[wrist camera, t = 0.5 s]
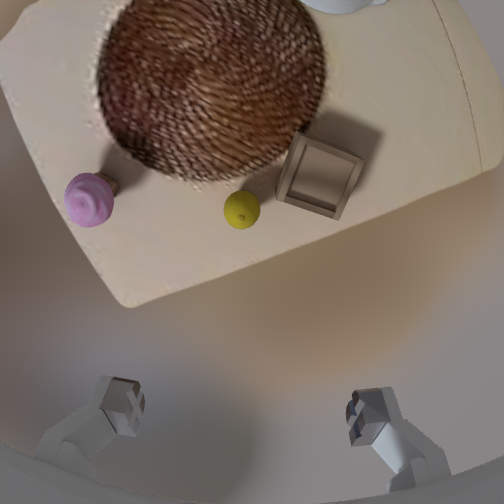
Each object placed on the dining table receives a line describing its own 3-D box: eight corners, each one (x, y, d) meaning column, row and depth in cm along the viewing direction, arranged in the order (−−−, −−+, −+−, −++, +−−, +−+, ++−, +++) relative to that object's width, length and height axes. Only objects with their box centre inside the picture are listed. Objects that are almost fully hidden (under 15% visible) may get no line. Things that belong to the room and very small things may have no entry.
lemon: (265, 191, 50) (266, 209, 44) (252, 220, 53) (251, 242, 46) (233, 179, 50) (228, 195, 43) (221, 209, 52) (215, 229, 45)
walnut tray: (296, 130, 46) (300, 135, 40) (353, 152, 47) (365, 160, 42) (274, 187, 50) (276, 199, 45) (330, 206, 52) (338, 220, 46)
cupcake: (134, 176, 49) (109, 195, 41) (119, 218, 53) (95, 243, 45) (92, 156, 48) (61, 172, 39) (79, 198, 51) (51, 220, 43)
